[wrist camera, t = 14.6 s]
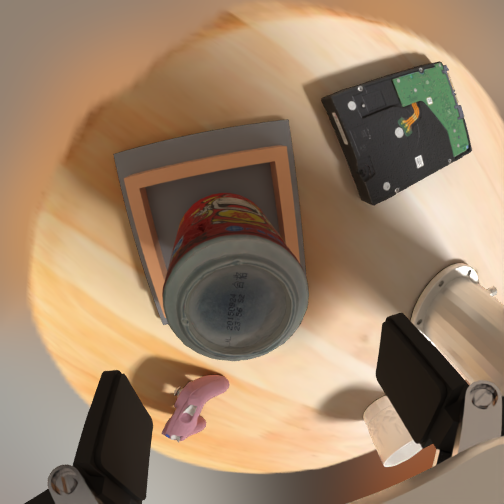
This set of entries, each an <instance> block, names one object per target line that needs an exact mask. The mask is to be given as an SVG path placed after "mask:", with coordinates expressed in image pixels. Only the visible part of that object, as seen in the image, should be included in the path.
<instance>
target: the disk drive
mask: <svg viewBox="0 0 504 504" xmlns="http://www.w3.org/2000/svg"><path fill="white" fill-rule="evenodd" d="M447 71H449V69H448V68H447V66H446V65H443V64H442V62H435V63H431V64H426V65H421V66H417V67H414V68H411V69H408V70H404V71H400V72H397V73H394V74H390V75H387V76H384V77H381V78H377V79H374V80H371V81H368V82H365V83H363V84H360V85H357V86H354V87H350V88H346V89H344V90H341V91H338V92H335V93H334V94H332V95H329V96H327V97H324V98H322V100H321V101H322V103H323V105H324V107H325V109H326V111H327V114H328V115H329V118H330V121H331V123H332V125H333V128H334V130H335V132H336V135H337V137H338V140H339V142H340V145H341V147H342V149H343V152H344V155H345V157H346V160H347V162H348V165H349V168H350V170H351V173H352V176H353V178H354V181H355V183H356V186H357V189H358V192H359V195H360V198H361V200H362V201H365V202H367V203H369V204H371V205H373V206H374V205H376V204H378V203H380V202H382V201H384V200H387V199H388V198H390V197H392V196H394V195H396V193H398V192H400V191H402V190H404V189H406V188H408V187H409V186H411V185H413V184H415V183H416V182H418V181H420V180H422V179H424V178H425V177H427V176H429V175H431V174H433V173H434V172H436V171H438V170H440V169H442V168H443V167H445V166H447V165H449V164H450V163H452V162H454V161H457V160H458V159H460V158H462V157H463V156H464V155H466V154H468V153H470V152H471V151H472V148H471V143H470V139H469V135H468V130H467V126H466V123H465V119H464V114H463V111H462V107H461V105H458V100H457V97H456V94H455V93H454V92H455V90H454V87H453V85H452V82H451V79H450V76H449V74H448V73H447Z"/></svg>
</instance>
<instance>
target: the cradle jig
mask: <svg viewBox="0 0 504 504" xmlns="http://www.w3.org/2000/svg"><path fill="white" fill-rule="evenodd" d="M114 159H115V164H116V168H117V173H118V177H119V182H120V186H121V190H122V194H123V198H124V202H125V206H126V210H127V214H128V218H129V221H130V225H131V229H132V232H133V236H134V239H135V243H136V246H137V249H138V253H139V256H140V259H141V262H142V266H143V269H144V272H145V275H146V278H147V281H148V284H149V287H150V290H151V293H152V296H153V298H154V301H155V304H156V307H157V310H158V312H159V315H160V318H161V321H162V323H163V325H166V324H168V322H167V319H166V316H165V312H164V308H163V296H162V292H163V285H164V282H165V278H166V274H167V270H168V267H169V263H170V259H171V255H172V251H173V247H174V243H175V240H176V236H177V232H178V229H179V225H180V222H181V220H182V218H183V216H184V214H185V213H186V212H187V211H188V210H189V208H190V207H191V206H192V205H193V204H194V203H196V202H197V201H199V200H200V199H202V198H205V197H207V196H209V195H212V194H218V193H232V194H237V195H240V196H242V197H244V198H247V199H249V200H250V201H252V202H253V203H254V204H255V205H257V206H258V207H259V208H260V209H261V211H262V212H263V214H264V215H265V216H266V218H267V219H268V220H269V222H270V223H271V224H272V226H273V227H274V228H275V230H276V231H277V232H278V234H279V235H280V236H281V238H282V239H283V241H284V242H285V244H286V246H287V247H288V248H289V249H290V251H291V252H292V253H293V254H294V255H295V257H296V258H297V260H298V261H299V263H300V265H301V266H302V268H303V270H304V273H305V275H306V268H305V256H304V245H303V234H302V224H301V214H300V205H299V196H298V187H297V179H296V171H295V163H294V155H293V148H292V141H291V133H290V127H289V120H279V121H271V122H263V123H256V124H249V125H242V126H236V127H229V128H223V129H218V130H212V131H207V132H202V133H197V134H192V135H187V136H182V137H178V138H173V139H169V140H165V141H161V142H157V143H152V144H149V145H145V146H141V147H137V148H133V149H130V150H126V151H123V152H119V153H116V154H114Z"/></svg>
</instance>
